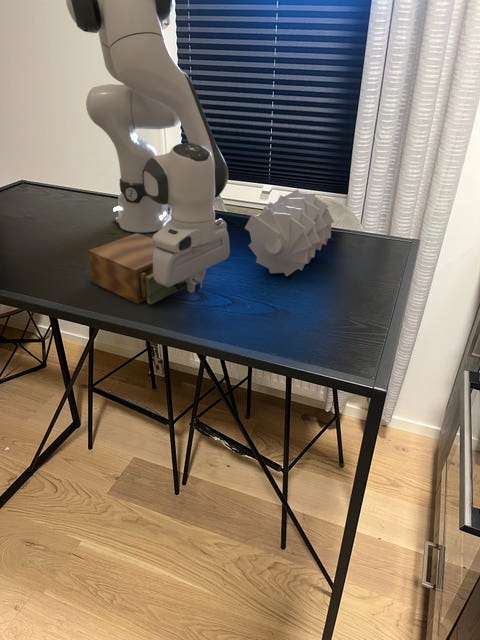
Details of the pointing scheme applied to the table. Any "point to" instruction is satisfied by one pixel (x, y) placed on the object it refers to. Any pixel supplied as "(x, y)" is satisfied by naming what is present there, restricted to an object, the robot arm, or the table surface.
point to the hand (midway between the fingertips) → (194, 289)
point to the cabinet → (122, 265)
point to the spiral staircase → (289, 232)
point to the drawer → (156, 288)
